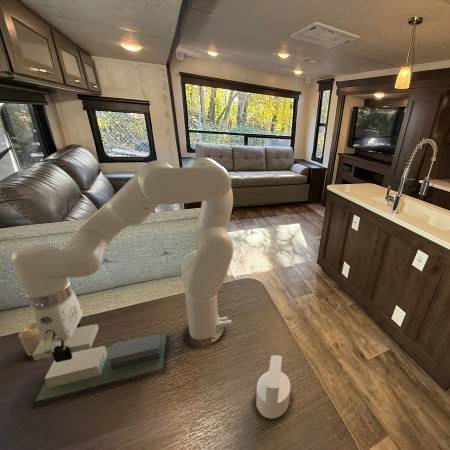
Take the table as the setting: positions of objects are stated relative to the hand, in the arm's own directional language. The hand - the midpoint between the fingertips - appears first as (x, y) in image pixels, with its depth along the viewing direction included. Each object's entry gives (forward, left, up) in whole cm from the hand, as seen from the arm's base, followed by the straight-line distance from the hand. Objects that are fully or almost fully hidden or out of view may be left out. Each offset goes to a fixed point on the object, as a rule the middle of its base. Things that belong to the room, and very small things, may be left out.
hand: (70, 347), depth 66 cm
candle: (+13, -12, -11) cm, 21 cm away
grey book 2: (-14, 0, -9) cm, 17 cm away
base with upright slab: (-49, +25, -11) cm, 56 cm away
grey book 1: (-14, 0, -7) cm, 16 cm away
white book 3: (0, 0, -9) cm, 9 cm away
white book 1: (0, 0, +1) cm, 1 cm away
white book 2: (0, 0, -7) cm, 7 cm away
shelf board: (-7, 0, -10) cm, 13 cm away
